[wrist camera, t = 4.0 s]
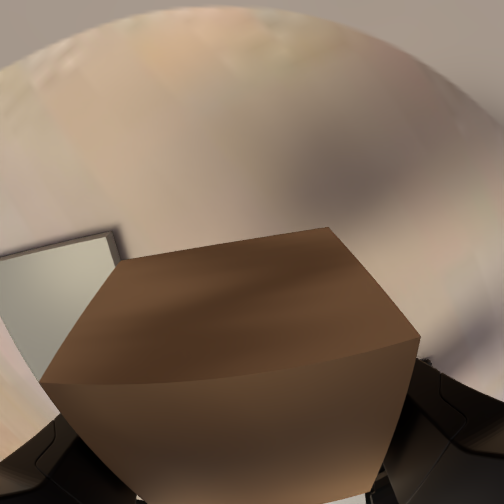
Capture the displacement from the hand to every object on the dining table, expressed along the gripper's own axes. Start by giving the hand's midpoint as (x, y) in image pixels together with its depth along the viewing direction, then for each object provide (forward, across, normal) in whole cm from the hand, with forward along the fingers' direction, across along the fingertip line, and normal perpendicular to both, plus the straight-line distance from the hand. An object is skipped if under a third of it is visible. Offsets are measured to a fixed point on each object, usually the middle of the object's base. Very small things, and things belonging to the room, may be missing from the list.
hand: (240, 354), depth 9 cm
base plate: (+9, +13, +4) cm, 16 cm away
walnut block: (+1, 0, 0) cm, 1 cm away
